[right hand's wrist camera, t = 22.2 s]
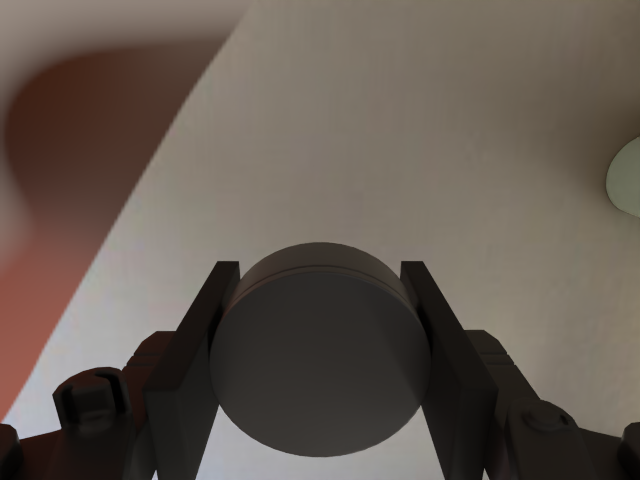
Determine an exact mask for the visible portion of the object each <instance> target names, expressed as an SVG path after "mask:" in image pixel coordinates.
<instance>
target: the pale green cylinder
mask: <svg viewBox="0 0 640 480" xmlns="http://www.w3.org/2000/svg"><path fill="white" fill-rule="evenodd" d="M606 190H607V194H608V196H609V198H610V200H611V202H612V203H613V204H614V205H615V206H616V207H617V208H618V209H620V210H622V211H624V212H626V213H629V214H632V215H634V216H637V217H639V218H640V136H639V137H637V138H636V139H634V140H632V141H631V142H629V143H628V144H627V145H625V146H624V147H623V148H622V149H621V150H620V151H619V152H618V154H617V155H616V156H615V158H614V159H613V161H612V163H611V165H610V167H609V169H608V173H607V177H606Z"/></svg>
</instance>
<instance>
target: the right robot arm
mask: <svg viewBox="0 0 640 480" xmlns="http://www.w3.org/2000/svg"><path fill="white" fill-rule="evenodd" d="M400 280H401V282H402V283H403V284H404V286H405V288H406V290H407V292H408V293H409V295H410V298H411V300H412V302H413V305H414V307H415V309H416V312H417V314H418V316H419V318H420V321H421V323H422V325H423V328H424V330H425V333H426V335H427V338H428V341H429V344H430V349H431V354H432V362H431V372H430V380H429V387H428V391H427V393H426V395H425V398H424V400H423V402H422V404H421V406H422V409H423V413H424V416H425V419H426V422H427V425H428V428H429V431H430V434H431V438H432V441H433V444H434V447H435V450H436V453H437V456H438V459H439V463H440V466H441V469H442V472H443V475H444V478H445V480H482V477H483V472H484V468H485V470H486V473H487V475H488V477H489V479H490V480H640V422H636V423H631V424H629V425H628V426H627V427H626V428H625V429H624V432H623V435H622V438H619V437H614V436H610V435H606V434H601V433H597V432H593V431H589V430H586V429H582V428H579V427H578V426H577V424H576V422H575V421H574V419H573V418H572V417H571V416H570V415H569V414H568V413H566V412H565V411H564V410H563V409H561V408H559V407H558V406H556V405H554V404H552V403H550V402H547V401H544V400H540V398H539V397H538V395H537V394H536V393H535V391H534V390H533V388H532V387H531V386H530V384H529V383H528V381H527V380H526V379H525V377H524V376H523V374H522V373H521V372H520V370H519V369H518V367H517V366H516V365H514V362H513V360H512V359H511V357H510V356H509V355H507V352H506V350H505V349H504V348H503V346H502V345H501V343H500V342H499V341H498V340H497V339H496V338H494V337H493V336H492V335H490V334H489V333H487V332H486V331H485V330H464V329H463V328H462V326H461V324H460V323H459V321H458V319H457V318H456V316H455V314H454V313H453V311H452V309H451V308H450V306H449V304H448V303H447V301H446V299H445V298H444V296H443V294H442V293H441V291H440V289H439V288H438V286H437V284H436V283H435V281H434V279H433V278H432V276H431V274H430V273H429V271H428V269H427V268H426V266H425V264H424V263H423V261H401V273H400ZM239 281H240V269H239V261H217V263H216V265H215V266H214V268H213V270H212V271H211V273H210V275H209V276H208V278H207V280H206V281H205V283H204V285H203V286H202V288H201V290H200V291H199V293H198V295H197V296H196V298H195V300H194V301H193V303H192V305H191V306H190V308H189V310H188V311H187V313H186V315H185V316H184V318H183V320H182V321H181V323H180V325H179V327H178V328H177V330H176V331H156V332H155V333H153V334H152V335H151V336H149V337H148V338H146V339H145V340H144V341H142V343H141V344H140V345H139V347H138V348H137V350H136V351H135V352H134V356H132V357H131V358H130V360H129V361H128V362H127V365H126V366H125V367H124V368H123V369H122V371H121V370H120V369H117V368H112V367H97V368H93V369H89V370H86V371H82V372H80V373H78V374H76V375H74V376H72V377H70V378H68V379H67V380H66V381H64V382H63V383H62V384H60V385H59V386H58V387H57V389H56V390H55V392H54V393H53V394H52V396H53V399H54V403H55V406H56V410H57V413H58V417H59V421H60V424H61V429H60V430H57V431H54V432H50V433H46V434H42V435H37V436H33V437H29V438H25V439H20V440H19V437H18V434H17V431H16V429H14V428H13V427H12V426H11V425H8V424H0V480H152V477H153V475H154V473H155V470H156V471H157V476H158V480H195V479H196V476H197V473H198V470H199V466H200V463H201V460H202V457H203V454H204V451H205V448H206V444H207V441H208V438H209V435H210V432H211V429H212V426H213V423H214V419H215V416H216V413H217V410H218V407H219V403H218V401H217V398H216V396H215V394H214V391H213V388H212V385H211V377H210V368H209V352H210V347H211V342H212V339H213V337H214V334H215V332H216V329H217V327H218V325H219V322H220V320H221V318H222V315H223V313H224V311H225V308H226V306H227V304H228V302H229V299H230V297H231V295H232V293H233V291H234V289H235V287H236V286H237V284H238V282H239Z"/></svg>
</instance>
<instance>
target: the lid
mask: <svg viewBox="0 0 640 480" xmlns="http://www.w3.org/2000/svg"><path fill="white" fill-rule="evenodd" d="M431 362H432V354H431V349H430V344H429V341H428V338H427V335H426V333H425V330H424V328H423V325H422V323H421V321H420V318H419V316H418V314H417V312H416V309H415V307H414V305H413V302H412V300H411V298H410V295H409V293H408V292H407V290H406V288H405V286H404V284H403V283H402V282H401V280H400V279H399V278H398V276H397V275H396V274H395V273H394V272H393V271H392V270H391V269H390V268H389V267H388V266H387V265H385V264H384V263H383V262H381V261H380V260H379V259H377V258H375V257H374V256H372V255H370V254H368V253H366V252H364V251H361V250H359V249H356V248H354V247H350V246H346V245H342V244H335V243H324V242H314V243H305V244H299V245H295V246H291V247H287V248H284V249H282V250H279V251H277V252H274V253H273V254H271V255H269V256H267V257H265V258H264V259H262V260H261V261H259V262H258V263H257V264H255V265H254V266H253V267H252V268H251V269H250V270H249V271H248V272H247V273H246V274H245V275H244V276H243V277H242V279H241V280H240V281H239V282H238V284H237V286H236V287H235V289H234V291H233V293H232V295H231V297H230V299H229V302H228V304H227V306H226V308H225V311H224V313H223V315H222V318H221V320H220V322H219V325H218V327H217V329H216V332H215V334H214V337H213V339H212V342H211V347H210V352H209V368H210V377H211V385H212V388H213V391H214V394H215V396H216V398H217V401H218V403H219V404H220V406H221V407H222V409H223V411H224V412H225V413H226V415H227V416H228V417H229V418H230V419H231V421H232V422H233V423H234V424H235V425H236V426H237V427H239V428H240V429H241V430H242V431H243V432H245V433H246V434H247V435H249V436H250V437H251V438H253V439H255V440H257V441H258V442H260V443H262V444H264V445H266V446H269V447H271V448H273V449H276V450H279V451H282V452H285V453H289V454H294V455H299V456H308V457H333V456H341V455H347V454H352V453H355V452H359V451H362V450H365V449H368V448H370V447H372V446H375V445H377V444H379V443H381V442H382V441H384V440H386V439H388V438H389V437H391V436H392V435H393V434H395V433H396V432H398V431H399V430H400V429H401V428H402V427H403V426H404V425H405V424H407V423H408V421H409V420H410V419H411V418H412V417H413V416H414V414H415V413H416V412H417V410H418V409H419V407H420V405H421V404H422V402H423V400H424V398H425V395H426V393H427V391H428V387H429V380H430V372H431Z"/></svg>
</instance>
